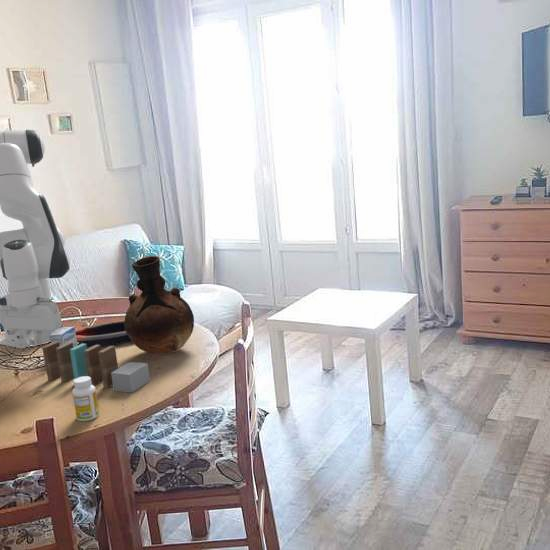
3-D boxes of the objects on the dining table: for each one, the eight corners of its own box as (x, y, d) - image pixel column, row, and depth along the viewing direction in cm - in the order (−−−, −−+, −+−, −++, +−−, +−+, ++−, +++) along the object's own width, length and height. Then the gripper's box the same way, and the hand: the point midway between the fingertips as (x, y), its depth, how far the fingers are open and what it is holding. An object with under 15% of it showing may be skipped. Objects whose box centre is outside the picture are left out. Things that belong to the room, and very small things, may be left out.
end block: (113, 390, 169) (111, 372, 168) (132, 379, 176) (129, 362, 175) (131, 392, 166) (129, 374, 165) (149, 380, 173) (147, 363, 172)
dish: (157, 341, 208) (155, 326, 207) (60, 354, 203) (58, 339, 202) (156, 327, 223) (154, 314, 222) (66, 340, 218) (63, 326, 217)
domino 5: (103, 386, 172) (98, 352, 170) (115, 379, 176) (110, 345, 174) (108, 387, 171) (103, 352, 169) (120, 380, 176) (114, 346, 174)
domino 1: (48, 380, 180) (42, 347, 178) (60, 373, 185) (54, 341, 183) (52, 380, 180) (46, 347, 178) (64, 374, 184) (59, 341, 182)
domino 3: (91, 377, 180) (86, 343, 178) (79, 384, 176) (74, 349, 173) (87, 376, 181) (82, 343, 178) (75, 383, 176) (69, 349, 174)
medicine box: (66, 361, 195) (61, 334, 194) (53, 361, 196) (48, 334, 195) (79, 352, 203) (74, 326, 201) (66, 352, 204) (62, 326, 202)
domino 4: (89, 385, 174) (83, 350, 172) (101, 378, 179) (95, 344, 176) (93, 385, 173) (88, 351, 171) (105, 378, 178) (100, 345, 176)
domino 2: (61, 381, 178) (55, 348, 176) (73, 375, 183) (68, 342, 181) (65, 382, 178) (60, 348, 175) (78, 375, 182) (72, 342, 180)
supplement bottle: (91, 410, 158) (85, 373, 155) (104, 414, 154) (98, 377, 152) (72, 418, 154) (65, 381, 151) (85, 423, 150) (78, 385, 148)
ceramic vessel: (201, 340, 204) (190, 249, 197) (192, 359, 187) (180, 260, 180) (137, 345, 205) (124, 254, 198) (122, 364, 188) (108, 266, 181)
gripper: (62, 295, 178) (70, 342, 181) (9, 294, 186) (18, 339, 189) (46, 301, 172) (54, 349, 175) (-8, 299, 181) (1, 346, 184)
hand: (35, 344), depth 182 cm, fingers closed
